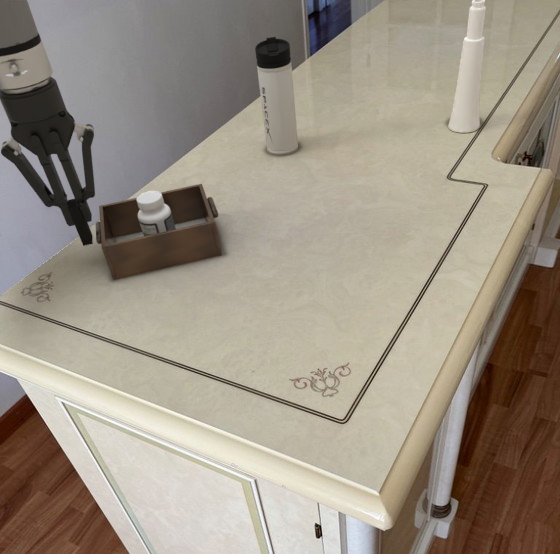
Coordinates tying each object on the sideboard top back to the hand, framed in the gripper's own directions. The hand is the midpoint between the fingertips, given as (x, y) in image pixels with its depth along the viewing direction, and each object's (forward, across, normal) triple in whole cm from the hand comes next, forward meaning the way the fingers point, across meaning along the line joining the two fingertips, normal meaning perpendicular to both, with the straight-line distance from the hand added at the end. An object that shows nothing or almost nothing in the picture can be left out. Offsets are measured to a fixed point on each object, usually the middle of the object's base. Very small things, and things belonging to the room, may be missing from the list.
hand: (87, 240), depth 92 cm
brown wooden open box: (+5, +11, 0) cm, 12 cm away
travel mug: (+5, +38, +26) cm, 47 cm away
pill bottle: (+4, +11, 0) cm, 12 cm away
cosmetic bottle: (+5, +74, +20) cm, 77 cm away
